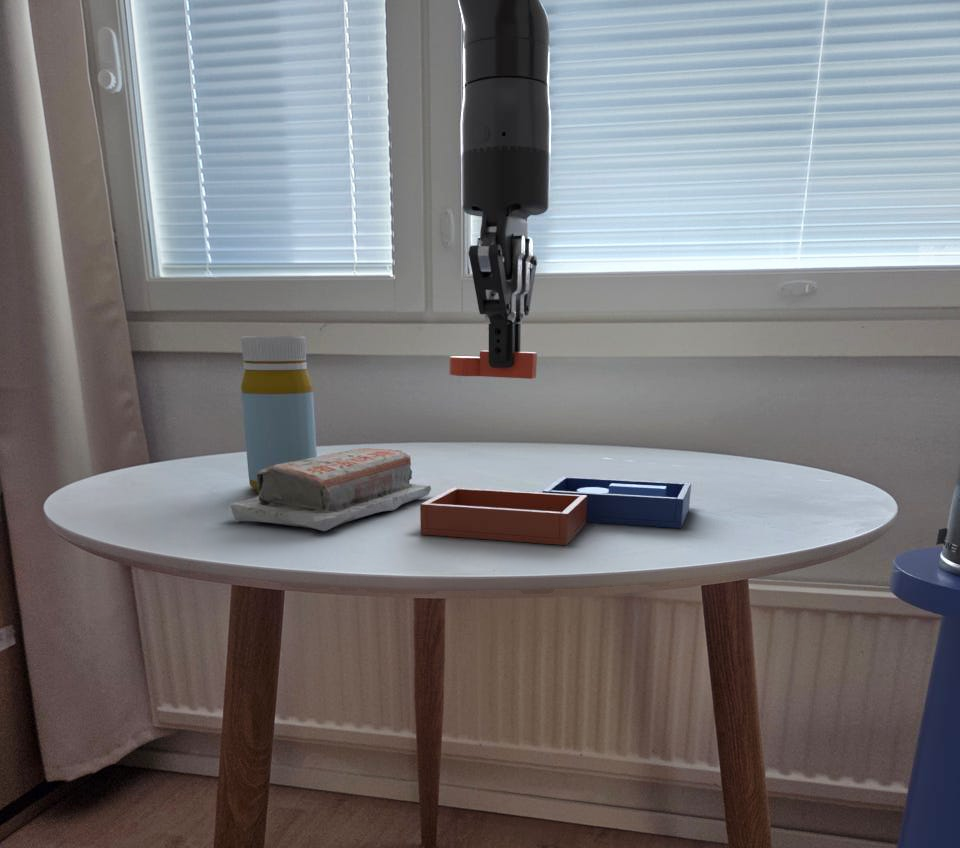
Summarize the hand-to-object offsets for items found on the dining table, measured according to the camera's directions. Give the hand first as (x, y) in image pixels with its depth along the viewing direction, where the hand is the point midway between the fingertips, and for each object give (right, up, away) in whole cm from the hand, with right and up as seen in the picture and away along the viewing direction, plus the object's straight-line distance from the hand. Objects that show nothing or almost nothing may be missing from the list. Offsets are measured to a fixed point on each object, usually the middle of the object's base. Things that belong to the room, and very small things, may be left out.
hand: (504, 366), depth 79 cm
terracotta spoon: (-1, -1, +1) cm, 2 cm away
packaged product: (-15, -13, +2) cm, 20 cm away
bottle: (-23, -9, +12) cm, 27 cm away
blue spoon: (+10, -13, 0) cm, 17 cm away
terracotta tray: (0, -15, -6) cm, 16 cm away
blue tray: (+10, -13, 0) cm, 17 cm away
